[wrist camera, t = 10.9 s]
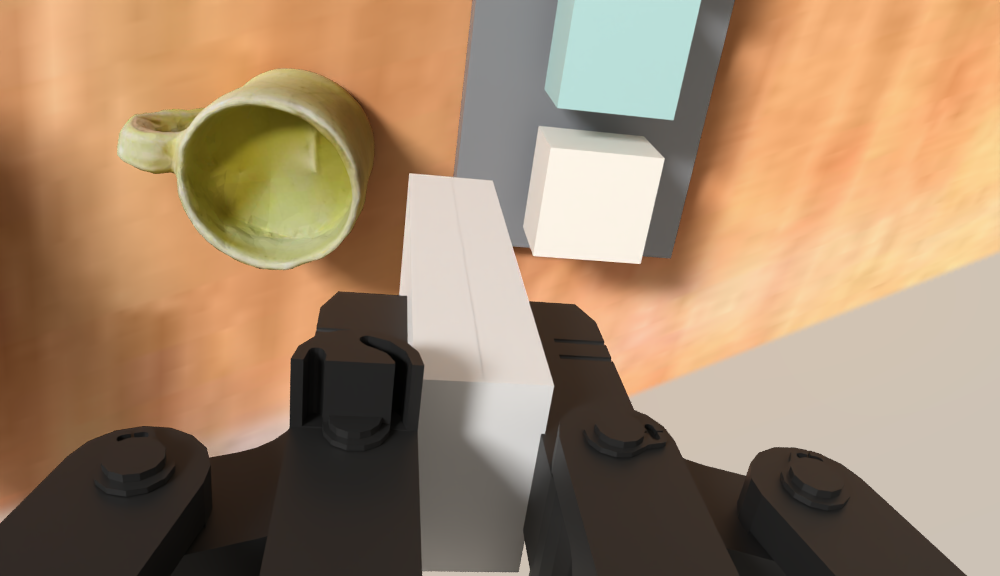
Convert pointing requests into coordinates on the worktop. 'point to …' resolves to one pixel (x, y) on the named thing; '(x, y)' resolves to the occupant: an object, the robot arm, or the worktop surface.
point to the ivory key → (591, 195)
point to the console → (526, 105)
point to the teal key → (620, 55)
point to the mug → (264, 166)
